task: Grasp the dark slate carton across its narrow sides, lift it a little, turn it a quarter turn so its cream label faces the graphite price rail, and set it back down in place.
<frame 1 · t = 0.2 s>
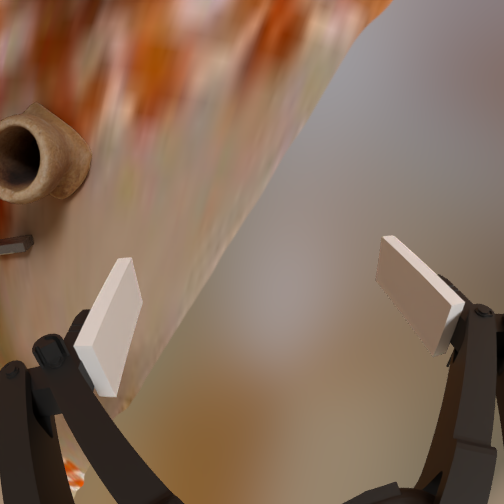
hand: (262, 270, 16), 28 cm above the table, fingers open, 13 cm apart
brown piece: (53, 142, 37), on the table
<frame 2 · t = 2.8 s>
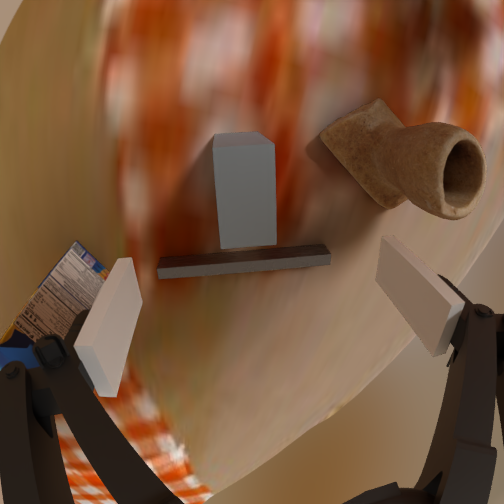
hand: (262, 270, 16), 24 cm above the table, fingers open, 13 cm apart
brown piece: (380, 147, 38), on the table
slate carton: (238, 169, 38), on the table
price rail: (243, 256, 43), on the table
blue food box: (74, 278, 42), on the table
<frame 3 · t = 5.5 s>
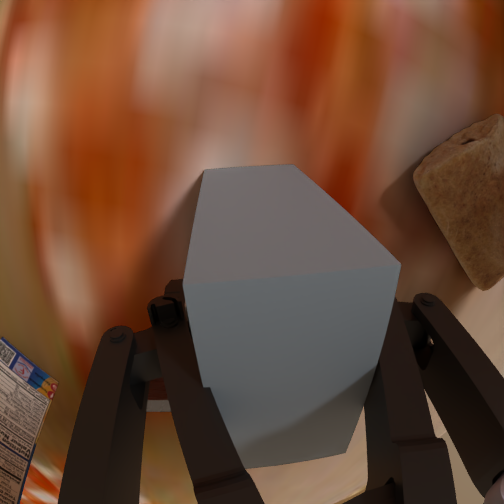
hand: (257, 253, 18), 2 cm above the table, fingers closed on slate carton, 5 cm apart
brown piece: (485, 193, 20), on the table
slate carton: (252, 239, 20), on the table, touching gripper
price rail: (259, 371, 25), on the table
blue food box: (14, 379, 24), on the table
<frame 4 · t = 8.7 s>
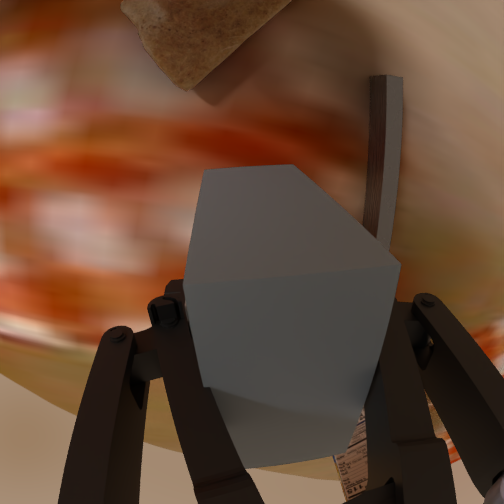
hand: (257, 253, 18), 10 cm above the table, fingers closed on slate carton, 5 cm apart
slate carton: (252, 239, 20), point 8 cm above the table, touching gripper
price rail: (372, 198, 27), on the table
blue food box: (350, 383, 39), on the table
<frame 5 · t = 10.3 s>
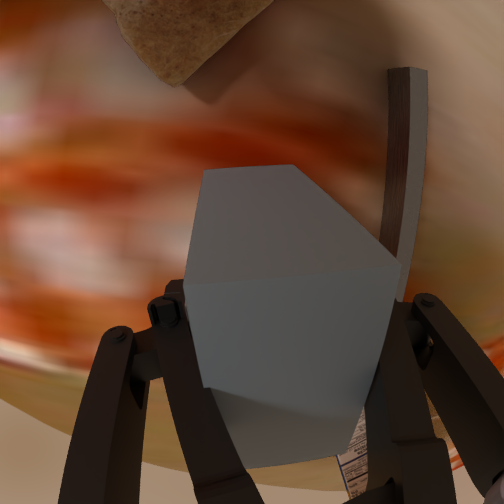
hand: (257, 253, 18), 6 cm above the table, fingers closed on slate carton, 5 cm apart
slate carton: (252, 240, 20), point 4 cm above the table, touching gripper
price rail: (391, 208, 24), on the table
blue food box: (361, 401, 35), on the table
when the fingers open (3 cm above the table, at t = 11.8 s): slate carton drops 1 cm, on the table.
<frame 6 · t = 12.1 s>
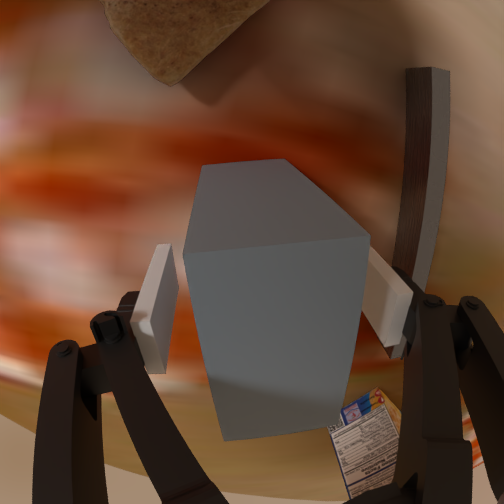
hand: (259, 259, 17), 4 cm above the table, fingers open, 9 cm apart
slate carton: (248, 230, 21), on the table
price rail: (406, 220, 22), on the table
blue food box: (368, 416, 33), on the table
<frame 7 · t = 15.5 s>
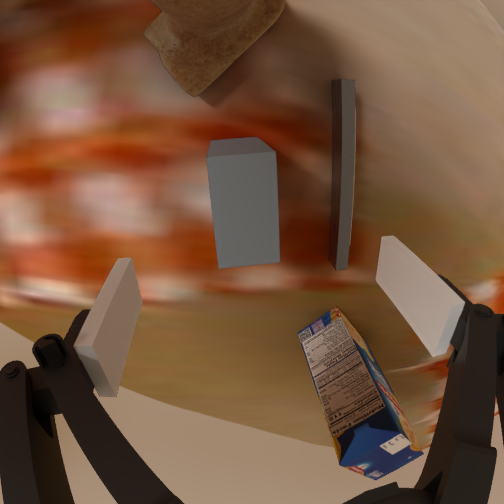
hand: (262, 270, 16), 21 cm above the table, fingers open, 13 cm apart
brown piece: (207, 18, 27), on the table
slate carton: (237, 178, 35), on the table
price rail: (338, 174, 36), on the table
blue food box: (334, 338, 47), on the table
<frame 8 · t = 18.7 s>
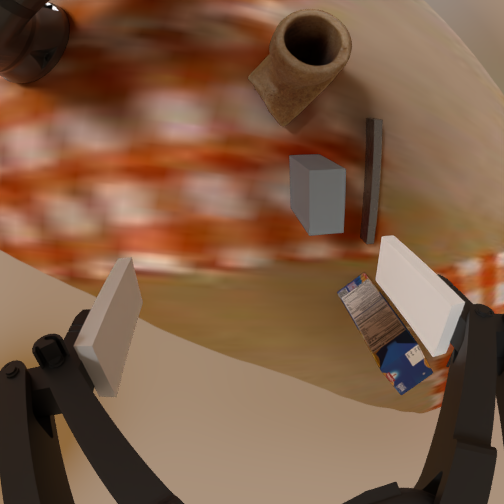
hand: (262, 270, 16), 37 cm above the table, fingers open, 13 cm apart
brown piece: (288, 70, 44), on the table
slate carton: (304, 181, 52), on the table
price rail: (368, 179, 53), on the table
blue food box: (361, 297, 64), on the table
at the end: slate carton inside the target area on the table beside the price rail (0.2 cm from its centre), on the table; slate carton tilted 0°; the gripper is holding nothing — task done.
